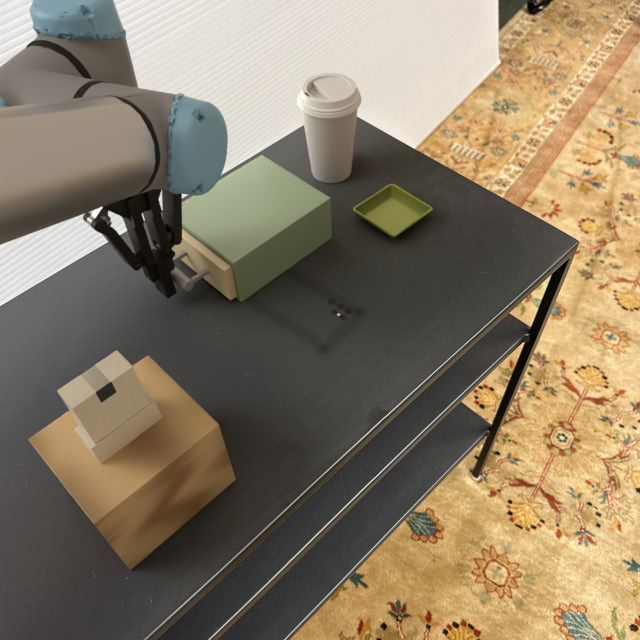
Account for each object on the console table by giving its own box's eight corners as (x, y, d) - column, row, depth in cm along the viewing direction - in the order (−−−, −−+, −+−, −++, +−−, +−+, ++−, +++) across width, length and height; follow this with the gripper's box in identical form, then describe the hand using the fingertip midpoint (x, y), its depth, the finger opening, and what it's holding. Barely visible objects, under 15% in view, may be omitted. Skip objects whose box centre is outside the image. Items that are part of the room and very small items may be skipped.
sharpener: (101, 464, 60) (68, 414, 53) (84, 444, 61) (50, 392, 54) (162, 418, 63) (139, 364, 56) (145, 399, 64) (120, 345, 57)
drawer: (205, 318, 85) (197, 288, 81) (147, 268, 92) (137, 238, 87) (317, 239, 94) (316, 208, 90) (258, 198, 101) (253, 168, 96)
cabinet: (241, 302, 88) (233, 263, 82) (177, 251, 95) (166, 211, 89) (332, 237, 96) (330, 197, 90) (267, 194, 103) (261, 154, 97)
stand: (130, 570, 66) (93, 524, 56) (69, 492, 71) (27, 439, 62) (236, 479, 72) (219, 424, 62) (172, 414, 77) (147, 354, 68)
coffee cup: (299, 156, 109) (293, 73, 97) (356, 150, 109) (356, 67, 97) (305, 192, 103) (299, 108, 91) (364, 186, 103) (366, 101, 91)
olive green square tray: (351, 218, 98) (351, 208, 97) (391, 192, 102) (391, 182, 100) (393, 247, 94) (393, 236, 92) (433, 218, 97) (434, 208, 96)
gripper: (83, 186, 64) (142, 332, 83) (187, 130, 70) (221, 279, 88) (45, 155, 68) (110, 302, 86) (148, 104, 73) (188, 252, 92)
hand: (166, 290), depth 87 cm, fingers closed
